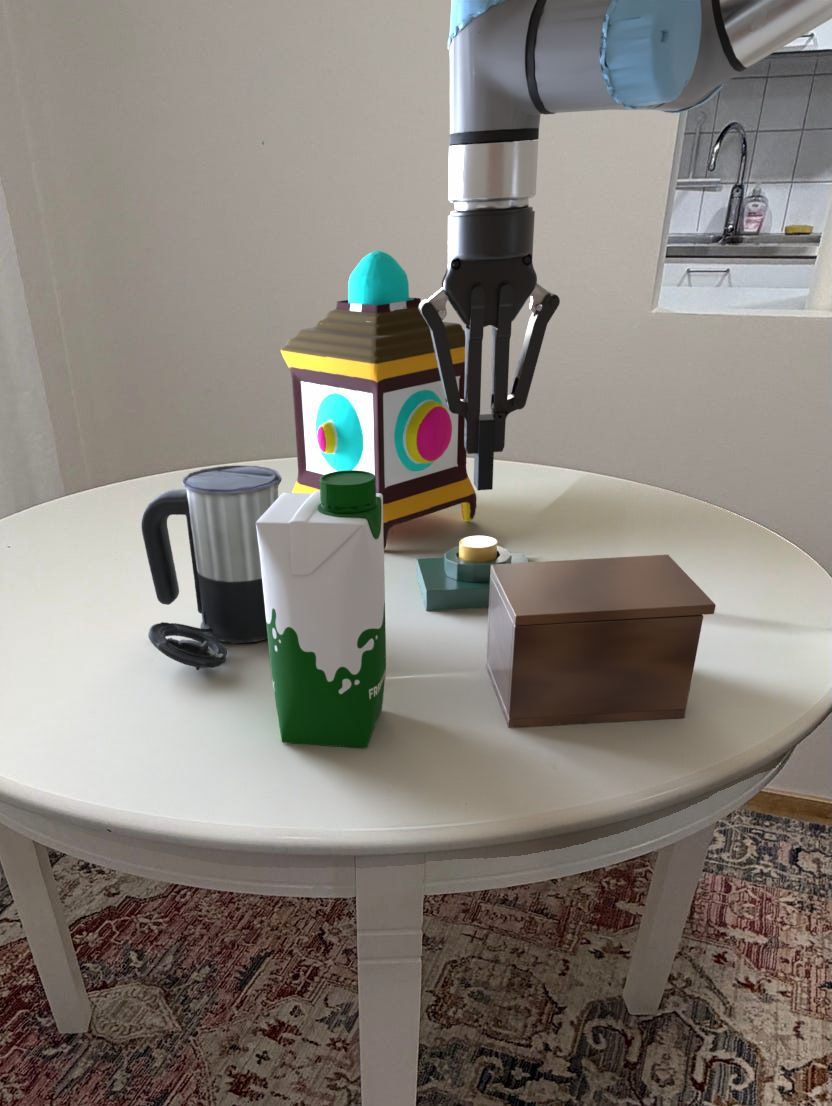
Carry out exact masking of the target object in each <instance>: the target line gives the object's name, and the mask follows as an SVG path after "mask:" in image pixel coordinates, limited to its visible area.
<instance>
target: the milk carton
mask: <svg viewBox="0 0 832 1106" xmlns="http://www.w3.org/2000/svg"><path fill="white" fill-rule="evenodd" d="M256 529H257V537H258V545H259V553H260V562H261V572H262V583H263V593H264V603H265V613H266V624H267V634H268V639H267V642H268V643H267V644H268V654H269V662H270V663H269V664H270V672H271V674H270V675H271V681H272V688H273V695H274V702H275V706H276V707H275V708H276V713H277V720H278V721H277V722H278V727H279V733H280V739H281V743H283V744H284V743H286V744H287V743H288V744H301V745H314V746H315V745H316V746H329V747H342V748H358V749H367V748H368V746H369V744H370V741H371V738H372V735H373V733H374V730H375V727H376V725H377V723H378V721H379V720H378V719H379V717H380V715H381V712H382V709H383V702H384V693H385V684H386V683H385V681H386V671H387V638H386V637H387V635H386V633H387V632H386V585H385V584H386V581H385V578H386V577H385V550H384V539H383V495H382V494H379V493H376V477H375V475H374V474H372V473H370V472H366V471H359V470H345V471H336V472H331V473H328V474H325V475H323V476H322V477H321V478H320V491H315V492H314V493H292V492H282V493H281V494H280V495H278V499H277V500H276V501H275V502H274V503H273V504H272V505H271V506H270V507H269V508H268V510H267V511H266V512H265V513H264V514H263V515H262V516H261V517H260V518H259V519H258V520H257V522H256Z"/></svg>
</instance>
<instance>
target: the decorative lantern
mask: <svg viewBox="0 0 832 1106" xmlns="http://www.w3.org/2000/svg"><path fill="white" fill-rule="evenodd" d="M347 288H348V289H347V298H348V299H345V300H338V301H336V307H335V309H332V310H329V311H328V312H327V314H326V315H325V318H322V319H320V320H318V321H317V323H316V325H315V326H311V327H306V328H300V329H299V330H297V331H296V335H295V336H292V337H290V338H289V339H287V342H286V344H285V345H284V346H282V347H281V348H280V353H281V355H282V358H283V360H284V362H285V364H286V365H287V367H288V370H289V372H290V376H291V386H292V400H293V403H292V404H293V415H294V432H295V445H296V459H297V478H296V482H295V484H294V487H293V489H292V491H291V493H314V492H315V491H320V478H321V477H322V476H323V475H325V474H328V473H331V472H336V471H345V470H359V471H366V472H370V473H372V474H374V475H375V477H376V493H379V494H382V495H383V539H384V551H385V550H386V547H387V542H388V541H387V540H388V534H389V531H390V530H391V528H393V527H394V526H397V525H400V524H403V523H407V522H409V521H412V520H416V519H418V518H421V517H424V516H428V515H430V514H433V513H436V512H440V511H443V510H445V509H449V508H452V507H455V506H458V505H460V504H461V515H462V519H463V520H464V521H465V522H471V521H473V519H475V516H476V513H477V512H476V511H477V493H476V490H475V488H474V486H473V484H472V482H471V479H470V477H469V475H468V471H467V455H468V453H467V451H466V449H465V446H464V426H465V419H464V417H463V416H462V415H459V414H454V413H452V412H451V411H450V410H449V408H448V407H447V405H446V401H445V397H444V392H443V387H442V383H441V378H440V374H439V369H438V364H437V360H436V355H435V350H434V346H433V341H432V337H431V332H430V328H429V326H428V324H427V323H426V321H425V319H424V318H423V316H422V314H421V313H420V311H419V303H420V302H421V301H422V299H421V298H419V297H410V286H409V278H408V275H407V271H405V269H403V267H402V266H401V265H400V263H399V262H398V260H396V259H395V258H394V257H393V256H392V255H390V254H389V253H387V252H386V251H381V250H375V251H372V252H369V253H368V254H367V255H365V256H364V257H362V259H361V260H360V261H359V262H358V264H357V265H356V266H355V268H354V269H353V270H352V272H351V273H350V275H349V279H348V284H347ZM443 323H444V326H445V329H446V333H447V338H448V342H449V347H450V352H451V357H452V362H453V366H454V371H455V376H456V381H457V386H458V391H459V395H460V398H461V399H464V387H465V329H464V328H463V326H462V324H460V323H459V322H458V323H457V322H448V321H443Z"/></svg>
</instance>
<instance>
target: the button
mask: <svg viewBox="0 0 832 1106" xmlns="http://www.w3.org/2000/svg"><path fill="white" fill-rule="evenodd" d="M498 543H499V542H498V540H497V539H496V538H494V537H492V536H487V535H470V536H465V537H463V538H461V539H460V540H459V542H458V546H459V559H462V560H464V561H471V562H487V561H491V560H494V559H497V546H498Z"/></svg>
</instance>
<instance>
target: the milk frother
mask: <svg viewBox="0 0 832 1106" xmlns="http://www.w3.org/2000/svg"><path fill="white" fill-rule="evenodd" d="M282 479H283V478H282V477H281V474H280V472H278V471H277V470H275V469H273V468H270V467H265V466H259V465H223V466H213V467H209V468H208V467H207V468H202V469H199V470H196V471H193V472H189V473H188V474H187V475H186V476H185V477H183V478H182V480H181V483H182V486H183V487H184V488H178V489H177V488H176V489H169V490H165V491H163V492H161V493H159V494H158V495H157V496H155V497H154V498H153V499H152V500H151V501H150V502H149V503H148V505H147V506H146V508H145V509H144V512H143V514H142V517H141V522H140V523H141V527H140V528H141V535H142V539H143V543H144V548H145V553H146V557H147V562H148V566H149V569H150V574H151V580H152V583H153V587H154V592H155V595H156V599H157V601H158V602H159V603H160V604H161V605H165V606H166V605H168V606H169V605H171V604H172V603H174V602H175V601H176V600H177V598H178V597H179V595H180V586H179V581H178V576H177V575H178V574H177V571H176V566H175V565H176V564H175V560H174V555H173V550H172V546H171V545H172V544H171V540H170V534H169V529H168V518H169V517H170V516H173V515H174V516H179V515H180V516H185V518H186V527H187V535H188V543H189V550H190V557H191V566H192V573H193V580H194V590H195V597H196V605H197V612H198V613H199V614H201V622H200V627H196V626H191V625H188V624H183V623H176V622H171V623H170V622H163V621H161V622H159V623H155V624H153V625H152V626H150V628H149V630H148V634H147V636H148V639H149V641H150V642H151V644H152V646H154V648H156V649H157V650H158V651H159V652H160V653H162V654H163V655H164V656H167V657H168V658H169V659H172V660H173V661H176V662H178V663H180V664H183V665H185V666H190V667H194V668H195V670H196V671H200V669H212V668H213V669H214V668H218V667H220V666H222V665H223V664H225V662H226V660H227V657H228V652H229V651H228V648H227V647H226V645H225V644H223V643H232V644H243V643H245V644H247V643H248V644H249V643H253V642H255V643H256V642H260V641H265V640H268V634H267V624H266V613H265V603H264V593H263V583H262V572H261V562H260V553H259V545H258V537H257V529H256V522H257V520H258V519H259V518H260V517H261V516H262V515H263V514H264V513H265V512H266V511H267V510H268V508H269V507H270V506H271V505H272V504H273V503H274V502H275V501H276V500H277V499H278V498H279V486H280V484H281V482H282ZM166 637H169V638H166ZM172 637H184V638H187V639H180V640H179V639H175V638H172ZM221 642H222V643H221Z"/></svg>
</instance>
